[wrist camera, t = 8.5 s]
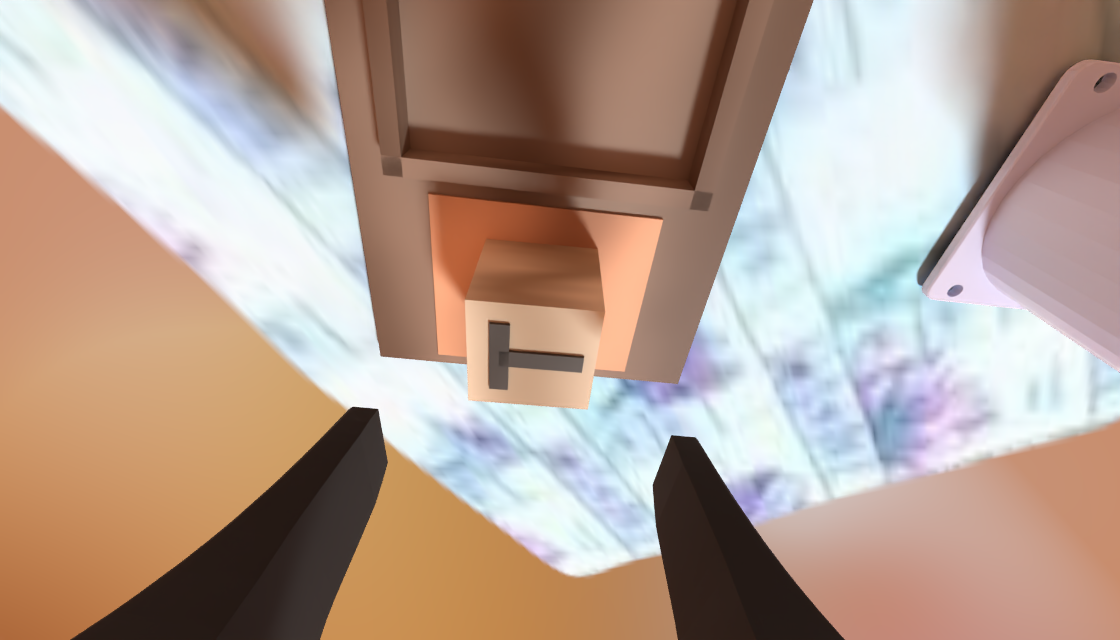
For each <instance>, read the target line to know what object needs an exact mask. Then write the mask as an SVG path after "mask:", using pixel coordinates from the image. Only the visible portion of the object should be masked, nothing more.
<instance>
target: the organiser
mask: <svg viewBox="0 0 1120 640" xmlns="http://www.w3.org/2000/svg"><path fill="white" fill-rule="evenodd" d="M324 2H325V8H326V14H327V21H328V27H329V33H330V40H331V46H332V52H333V58H334V65H335V71H336V77H337V84H338V90H339V96H340V103H341V109H342V115H343V121H344V128H345V134H346V140H347V147H348V153H349V159H350V166H351V172H352V178H353V184H354V191H355V197H356V203H357V210H358V216H359V222H360V229H361V235H362V241H363V247H364V254H365V260H366V266H367V273H368V279H369V285H370V292H371V298H372V304H373V310H374V317H375V323H376V329H377V336H378V342H379V348H380V355H381V356H383V357H394V358H404V359H415V360H426V361H437V362H448V363H458V364H467V346H466V319H465V298H466V295H467V292H468V289H469V286H470V284H471V281H472V278H473V275H474V272H475V269H476V266H477V264H478V261H479V258H480V255H481V252H482V249H483V246H484V244H485V241H486V239H494V240H505V241H516V242H527V243H538V244H549V245H560V246H571V247H582V248H593V249H598V253H599V262H600V270H601V279H602V288H603V297H604V305H605V316H604V322H603V327H602V333H601V338H600V344H599V349H598V355H597V360H596V366H595V371H594V376H599V377H609V378H620V379H631V380H642V381H653V382H663V383H674V384H678V382H679V379H680V376H681V373H682V370H683V367H684V365H685V362H686V359H687V356H688V353H689V351H690V348H691V345H692V342H693V339H694V336H695V334H696V331H697V328H698V325H699V322H700V319H701V317H702V314H703V311H704V308H705V305H706V302H707V300H708V297H709V294H710V291H711V288H712V286H713V283H714V280H715V277H716V274H717V271H718V269H719V266H720V263H721V260H722V257H723V254H724V252H725V249H726V246H727V243H728V240H729V238H730V235H731V232H732V229H733V226H734V223H735V221H736V218H737V215H738V212H739V209H740V206H741V204H742V201H743V198H744V195H745V192H746V189H747V187H748V184H749V181H750V178H751V175H752V173H753V170H754V167H755V164H756V161H757V158H758V156H759V153H760V150H761V147H762V144H763V141H764V139H765V136H766V133H767V130H768V127H769V124H770V122H771V119H772V116H773V113H774V110H775V108H776V105H777V102H778V99H779V96H780V93H781V91H782V88H783V85H784V82H785V79H786V76H787V74H788V71H789V68H790V65H791V62H792V60H793V57H794V54H795V51H796V48H797V45H798V43H799V40H800V37H801V34H802V31H803V28H804V26H805V23H806V20H807V17H808V14H809V11H810V9H811V6H812V3H813V0H324Z"/></svg>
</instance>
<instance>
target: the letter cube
mask: <svg viewBox="0 0 1120 640" xmlns="http://www.w3.org/2000/svg"><path fill="white" fill-rule="evenodd" d="M604 316H605V305H604V297H603V288H602V279H601V270H600V262H599V253H598V249H593V248H582V247H571V246H560V245H549V244H538V243H527V242H516V241H505V240H494V239H486V241H485V244H484V246H483V249H482V252H481V255H480V258H479V261H478V264H477V266H476V269H475V272H474V275H473V278H472V281H471V284H470V286H469V289H468V292H467V295H466V298H465V319H466V346H467V374H468V400H472V401H485V402H498V403H511V404H524V405H537V406H550V407H563V408H576V409H588V404H589V399H590V393H591V388H592V382H593V377H594V371H595V366H596V360H597V355H598V349H599V344H600V338H601V333H602V327H603V322H604Z"/></svg>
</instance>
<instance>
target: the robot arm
mask: <svg viewBox="0 0 1120 640" xmlns="http://www.w3.org/2000/svg"><path fill="white" fill-rule="evenodd" d="M1102 76H1103V79H1102V81H1101V82H1100V83H1099V84H1098V85H1097V87H1095V88H1094V86H1095V84H1096V82H1097V81H1098V80H1099V79H1100V78H1101V77H1102ZM953 286H954V287H953ZM951 287H953V288H952V289H950V288H951ZM949 289H950V290H949ZM922 292H923V293H924V294H925V295H926V296H927V297H928V298H929V299H932V300H939V301H949V302H958V303H968V304H977V305H987V306H996V307H1006V308H1016V309H1025V310H1028V311H1029V312H1031V313H1032V314H1034V315H1035V316H1037V317H1038V318H1040V319H1041V320H1043V321H1044V322H1046V323H1047V324H1048V325H1050V326H1051V327H1053V328H1054V329H1056V330H1057V331H1059V332H1060V333H1062V334H1063V335H1065V336H1066V337H1068V338H1069V339H1071V340H1072V341H1074V342H1075V343H1077V344H1078V345H1080V346H1081V347H1083V348H1084V349H1085V350H1087V351H1088V352H1090V353H1091V354H1093V355H1094V356H1096V357H1097V358H1099V359H1100V360H1102V361H1103V362H1105V363H1106V364H1108V365H1109V366H1111V367H1112V368H1114V369H1115V370H1117V371H1118V372H1119V373H1120V63H1116V62H1108V61H1101V60H1092V59H1090V60H1083V61H1081V62H1078V63H1076V64H1075V65H1073V66H1072V67H1071V68H1069V69H1068V70H1067V71H1066V72H1065V73H1064V75H1063V76H1062V77H1061V79H1060V80H1059V82H1058V83H1057V85H1056V86H1055V88H1054V89H1053V91H1052V92H1051V93H1050V95H1049V96H1048V98H1047V99H1046V101H1045V102H1044V104H1043V105H1042V107H1041V108H1040V110H1039V111H1038V113H1037V114H1036V116H1035V117H1034V119H1033V120H1032V122H1031V123H1030V125H1029V126H1028V128H1027V129H1026V131H1025V132H1024V134H1023V135H1022V137H1021V138H1020V140H1019V141H1018V143H1017V144H1016V146H1015V147H1014V149H1013V150H1012V152H1011V153H1010V155H1009V156H1008V158H1007V159H1006V161H1005V162H1004V164H1003V165H1002V167H1001V168H1000V170H999V171H998V173H997V174H996V176H995V177H994V179H993V180H992V182H991V183H990V185H989V186H988V188H987V189H986V191H985V192H984V194H983V195H982V197H981V198H980V200H979V201H978V203H977V204H976V206H975V207H974V209H973V210H972V212H971V213H970V215H969V216H968V218H967V219H966V221H965V222H964V224H963V225H962V227H961V228H960V230H959V231H958V233H957V234H956V236H955V237H954V239H953V240H952V242H951V243H950V245H949V246H948V248H947V249H946V251H945V252H944V254H943V255H942V257H941V258H940V260H939V261H938V263H937V264H936V266H935V267H934V269H933V270H932V272H931V273H930V275H929V276H928V278H927V279H926V281H925V282H924V284H923V286H922ZM387 463H388V461H387V456H386V450H385V445H384V439H383V433H382V428H381V422H380V417H379V411H378V409H372V408H361V407H352V408H350V409H349V410H348V411H347V412H346V413H345V414H344V415H343V416H342V417H341V418H340V419H339V420H338V421H337V422H336V423H335V424H334V426H332V427H331V429H330V430H328V432H327V433H326V434H325V435H324V436H323V437H322V438H321V439H320V440H319V441H318V442H317V443H316V444H315V445H314V446H313V447H312V448H311V449H310V450H309V451H308V452H307V453H306V454H305V455H304V456H303V457H302V458H301V459H300V460H299V461H297V462H296V463H295V464H294V465H293V466H292V467H291V468H290V469H289V470H288V471H287V472H286V473H285V474H284V475H283V476H282V477H281V478H280V479H279V480H278V481H277V482H275V483H274V484H273V485H272V486H271V487H270V488H269V489H268V490H267V491H266V492H265V493H263V494H262V495H261V496H260V497H259V498H258V499H257V500H255V501H254V502H253V503H252V504H251V505H250V506H249V507H248V508H246V509H245V510H244V511H243V512H242V513H241V514H240V515H239V516H238V517H236V518H235V519H234V520H233V521H232V522H230V523H229V524H228V525H227V526H226V527H224V528H223V529H222V530H221V531H220V532H218V533H217V534H216V535H215V536H214V537H212V538H211V539H210V540H209V541H207V542H206V543H205V544H204V545H203V546H201V547H200V548H198V550H196V551H195V552H193V553H192V554H191V555H190V556H188V557H187V558H186V559H184V560H183V561H182V562H181V563H179V564H178V565H177V566H175V567H174V568H173V569H171V570H170V571H168V572H167V573H166V574H164V575H163V576H162V577H160V578H159V579H158V580H157V581H155V582H154V583H152V584H151V585H149V586H148V587H147V588H146V589H144V590H143V591H141V592H140V593H139V594H137V595H136V596H134V597H133V598H132V599H130V600H129V601H127V602H126V603H124V604H123V605H122V606H120V607H119V608H117V609H116V610H114V611H113V612H112V613H110V614H109V615H107V616H106V617H104V618H103V619H101V620H100V621H98V622H97V623H95V624H93V625H92V626H90V627H89V628H87V629H86V630H85V631H83V632H81V633H80V634H78V635H77V636H75V637H74V638H72V639H71V640H320V638H321V634H322V632H323V629H324V626H325V623H326V619H327V617H328V614H329V612H330V609H331V607H332V604H333V602H334V599H335V597H336V594H337V592H338V590H339V587H340V585H341V583H342V581H343V578H344V576H345V574H346V571H347V569H348V567H349V564H350V562H351V560H352V557H353V555H354V553H355V551H356V548H357V546H358V543H359V541H360V539H361V537H362V534H363V532H364V529H365V527H366V525H367V522H368V520H369V518H370V515H371V513H372V510H373V508H374V506H375V503H376V500H377V497H378V494H379V490H380V487H381V484H382V481H383V477H384V474H385V470H386V467H387ZM653 495H654V509H655V519H656V528H657V533H658V539H659V544H660V549H661V554H662V559H663V564H664V569H665V574H666V579H667V584H668V589H669V594H670V599H671V604H672V609H673V614H674V619H675V624H676V631H677V637H678V640H845V639H844V638H843V637H842V636H841V635H840V634H839V633H838V632H837V631H836V629H835V628H834V627H833V626H832V625H831V624H830V623H829V621H828V620H827V619H826V618H825V617H824V616H823V615H822V614H821V612H820V611H819V610H818V609H817V608H816V607H815V605H814V604H813V603H812V602H811V601H810V599H809V598H808V597H807V596H806V595H805V593H804V592H803V591H802V590H801V589H800V587H799V586H798V585H797V584H796V582H795V581H794V580H793V579H792V577H791V576H790V575H789V574H788V572H787V571H786V570H785V569H784V567H783V566H782V565H781V563H780V562H779V561H778V559H777V558H776V557H775V555H774V554H773V553H772V551H771V550H770V549H769V547H768V546H767V545H766V543H765V542H764V541H763V539H762V538H761V536H760V535H759V533H758V532H757V531H756V529H755V528H754V526H753V525H752V523H751V522H750V521H749V519H748V518H747V516H746V515H745V513H744V512H743V510H742V509H741V507H740V506H739V505H738V503H737V502H736V500H735V499H734V497H733V495H732V494H731V492H730V491H729V489H728V488H727V486H726V485H725V483H724V482H723V480H722V478H721V477H720V475H719V474H718V472H717V470H716V469H715V467H714V466H713V464H712V462H711V461H710V459H709V458H708V456H707V454H706V453H705V451H704V449H703V448H702V446H701V444H700V443H699V441H698V440H697V439H696V437H684V436H673V435H671V438H670V441H669V443H668V446H667V448H666V451H665V454H664V456H663V459H662V462H661V464H660V467H659V470H658V472H657V475H656V478H655V480H654V483H653Z"/></svg>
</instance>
